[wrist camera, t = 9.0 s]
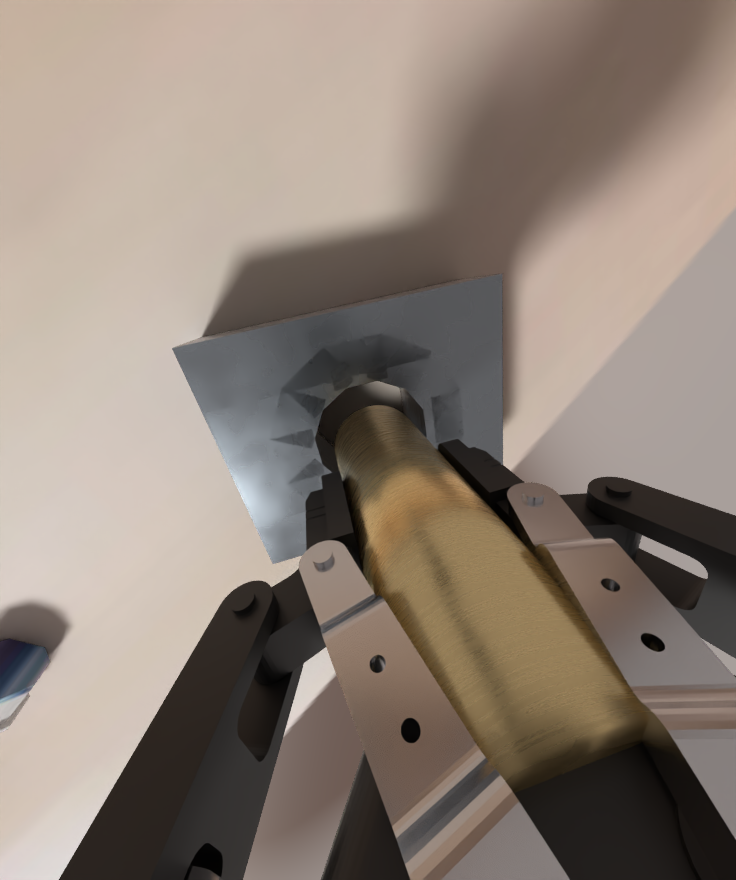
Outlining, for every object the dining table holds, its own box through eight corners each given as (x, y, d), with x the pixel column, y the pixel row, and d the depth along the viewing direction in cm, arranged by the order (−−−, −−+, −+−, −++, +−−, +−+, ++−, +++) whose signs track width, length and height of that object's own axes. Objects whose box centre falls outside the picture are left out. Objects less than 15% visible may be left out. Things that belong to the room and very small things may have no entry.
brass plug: (325, 417, 14) (405, 806, 3) (409, 395, 14) (736, 677, 4) (345, 489, 16) (441, 898, 5) (419, 468, 16) (660, 805, 5)
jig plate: (201, 337, 16) (172, 348, 12) (459, 279, 17) (502, 273, 13) (277, 519, 21) (273, 563, 17) (470, 463, 22) (503, 495, 19)
